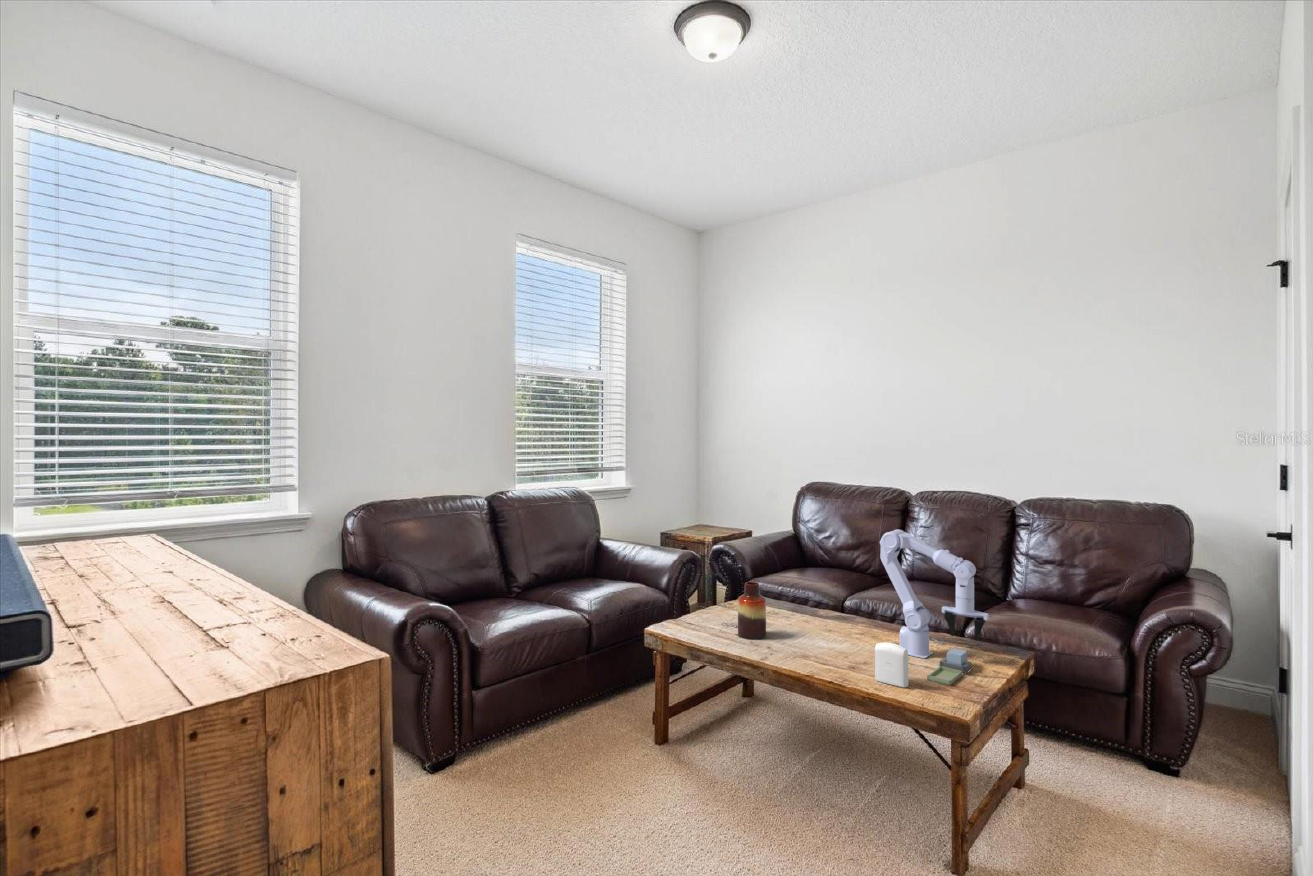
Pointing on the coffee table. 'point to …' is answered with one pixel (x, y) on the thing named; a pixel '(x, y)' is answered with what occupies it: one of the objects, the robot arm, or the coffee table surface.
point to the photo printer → (891, 664)
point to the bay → (956, 666)
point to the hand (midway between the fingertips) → (964, 637)
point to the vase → (751, 613)
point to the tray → (944, 675)
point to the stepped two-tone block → (957, 656)
